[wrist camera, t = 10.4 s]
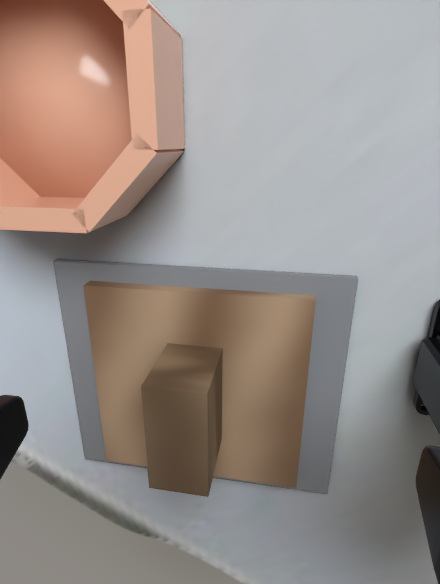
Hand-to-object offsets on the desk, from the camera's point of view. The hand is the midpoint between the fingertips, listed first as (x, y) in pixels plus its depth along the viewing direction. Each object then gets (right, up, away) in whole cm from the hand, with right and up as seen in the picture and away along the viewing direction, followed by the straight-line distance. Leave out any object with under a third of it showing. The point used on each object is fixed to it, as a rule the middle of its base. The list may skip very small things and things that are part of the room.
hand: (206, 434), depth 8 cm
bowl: (-7, +12, +10) cm, 17 cm away
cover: (-1, -2, +14) cm, 14 cm away
